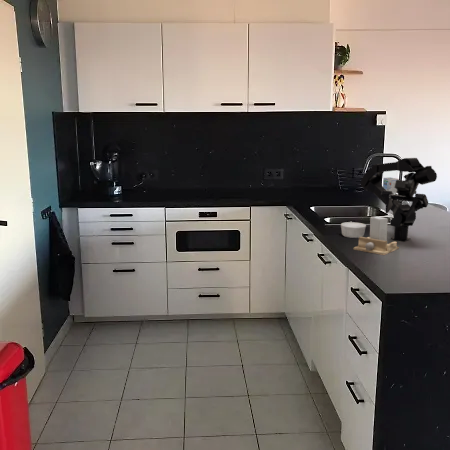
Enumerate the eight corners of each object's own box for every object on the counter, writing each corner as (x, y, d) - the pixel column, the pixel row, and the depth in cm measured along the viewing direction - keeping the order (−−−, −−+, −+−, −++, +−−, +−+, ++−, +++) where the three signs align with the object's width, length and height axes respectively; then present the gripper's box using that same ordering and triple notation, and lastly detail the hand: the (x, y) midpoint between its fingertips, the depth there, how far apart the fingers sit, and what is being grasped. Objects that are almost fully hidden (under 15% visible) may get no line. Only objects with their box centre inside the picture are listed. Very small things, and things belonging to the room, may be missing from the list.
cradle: (369, 243, 215) (370, 232, 214) (398, 248, 207) (399, 237, 206) (353, 249, 205) (354, 237, 204) (383, 255, 197) (384, 243, 196)
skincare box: (386, 247, 205) (389, 218, 202) (378, 248, 203) (380, 219, 201) (376, 244, 211) (378, 215, 208) (368, 245, 209) (370, 216, 206)
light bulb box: (382, 192, 369) (383, 177, 366) (389, 191, 371) (391, 177, 368) (390, 194, 359) (392, 179, 356) (399, 194, 361) (400, 178, 358)
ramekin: (347, 239, 223) (348, 227, 222) (335, 233, 234) (336, 222, 233) (370, 237, 226) (371, 226, 225) (357, 232, 237) (358, 221, 235)
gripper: (384, 171, 214) (369, 200, 209) (427, 174, 202) (413, 204, 196) (391, 188, 221) (377, 216, 216) (434, 192, 209) (420, 221, 203)
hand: (396, 214), depth 207 cm, fingers open, 9 cm apart
